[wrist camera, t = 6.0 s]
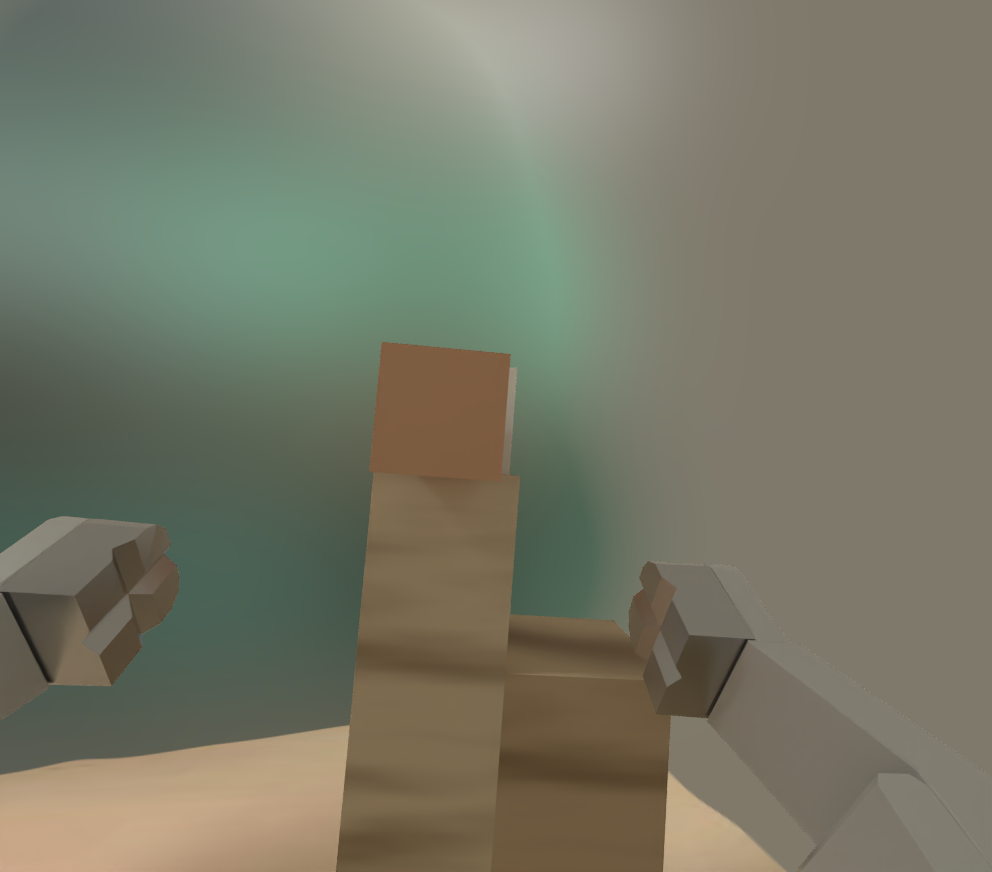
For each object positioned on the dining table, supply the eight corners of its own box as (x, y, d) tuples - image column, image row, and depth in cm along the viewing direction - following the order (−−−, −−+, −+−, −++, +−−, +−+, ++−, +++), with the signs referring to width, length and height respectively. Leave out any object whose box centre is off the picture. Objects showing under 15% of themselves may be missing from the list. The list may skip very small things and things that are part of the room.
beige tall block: (648, 1156, 18) (682, 489, 20) (308, 1165, 17) (374, 465, 19) (593, 952, 25) (621, 482, 27) (355, 951, 25) (399, 465, 26)
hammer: (405, 465, 27) (412, 380, 27) (498, 472, 27) (505, 389, 27) (313, 467, 10) (335, 252, 11) (554, 485, 11) (568, 277, 11)
